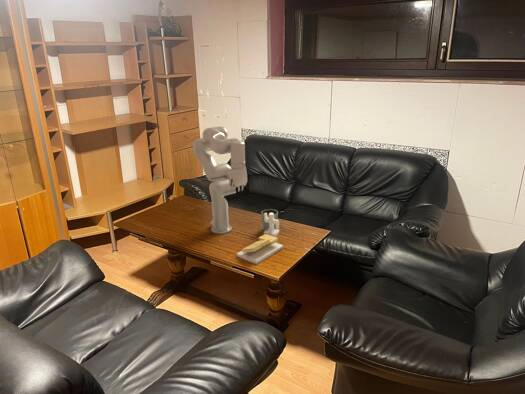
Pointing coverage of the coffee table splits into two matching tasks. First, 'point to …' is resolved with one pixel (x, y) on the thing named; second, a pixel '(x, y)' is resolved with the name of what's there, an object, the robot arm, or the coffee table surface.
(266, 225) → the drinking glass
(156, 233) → the coffee table surface
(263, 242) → the key
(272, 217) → the figurine
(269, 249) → the board
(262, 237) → the key
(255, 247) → the key
